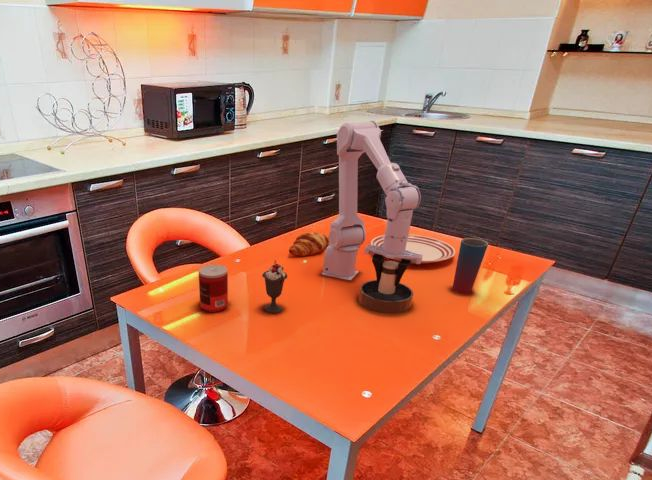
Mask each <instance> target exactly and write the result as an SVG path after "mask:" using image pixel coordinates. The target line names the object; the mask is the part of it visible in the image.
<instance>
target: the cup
mask: <svg viewBox="0 0 652 480" xmlns="http://www.w3.org/2000/svg"><path fill="white" fill-rule="evenodd" d="M488 246H489V242H488V241H486V240H484V239H482V238H477V237H465V238H462V239H461V240H460V245H459V251H458V256H457V260H456V261H457V262H456V267H455V272H454V278H453V283H452V288H451V289H452V291H454V292H455V293H458V294H462V295H463V294H465V295H467V294H470V293H472V290H473V288H474V285H475V282H476V280H477V277H478V274H479V271H480V269H481V265H482V262H483V260H484V257H485V254H486V253H487V249H488Z"/></svg>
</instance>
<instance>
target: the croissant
mask: <svg viewBox="0 0 652 480" xmlns="http://www.w3.org/2000/svg"><path fill="white" fill-rule="evenodd" d="M329 244H330V242H329V236H327V235H326V234H321V233H319V232H309V231H308V232H303V233H300V234H299V235H297V237H296V239H295V241H294V242H293V243H292V245H291V246H290V247H289V249H288V253H289V254H290V255H293V256H300V257H305V256H312V255H315V254H318V253H319V254H320V253H321V252H322V251H324V250H325V249H326V248H327V247H328V245H329Z"/></svg>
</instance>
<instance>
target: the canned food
mask: <svg viewBox="0 0 652 480" xmlns="http://www.w3.org/2000/svg"><path fill="white" fill-rule="evenodd" d="M228 278H229V274H228V268H227V267H226V266H225V265H222V264H206V265H203V266H201V267H200V268H199V269H198V288H199V305H200V308H201V310H203V311H205V312H206V313H207V312H208V313H219V312H222V311H224V310H226V308H227V307H228V303H229V288H228V287H229V283H228V282H229V279H228Z"/></svg>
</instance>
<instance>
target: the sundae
mask: <svg viewBox="0 0 652 480" xmlns="http://www.w3.org/2000/svg"><path fill="white" fill-rule="evenodd" d="M261 276H262V278H264V284H265V292H266V294H267V296H268V297H269V298H270V299H271V300H270V304H267V305H265V306H264V308H263V309H264V310H265V312H267V313H269V314H278V313H280V312H282V311H283V307H282V306H281V305H278V304H277V299H278V298H279V297H280V296H281V295H282V292H283V289H284V288H283V287H284V283H285V280H286V279H288V274H287V272H286V271H284V267H283V266H281V264H279V263H277V260H274V263H273V265H271V267H269V269H268V270H266V271H265V272H263V273H262V275H261Z"/></svg>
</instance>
